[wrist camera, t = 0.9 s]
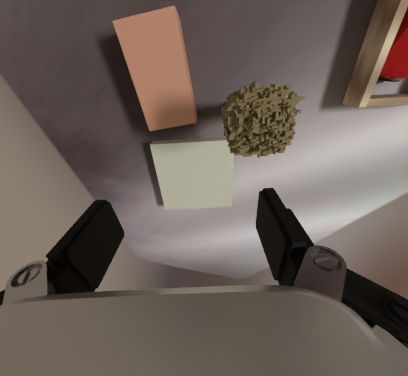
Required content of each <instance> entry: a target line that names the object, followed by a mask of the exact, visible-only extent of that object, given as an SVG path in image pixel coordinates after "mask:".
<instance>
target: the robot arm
mask: <svg viewBox="0 0 408 376" xmlns="http://www.w3.org/2000/svg"><path fill="white" fill-rule="evenodd" d="M256 229H257V232H258V235H259V237H260V240H261V243H262V246H263V249H264V252H265V255H266V258H267V260H268V263H269V266H270V269H271V272H272V275H273V277H274V280H278V282H279V286H278V285H248V286H217V287H216V286H215V287H191V288H167V289H147V290H146V289H145V290H124V291H103V292H94V291H95V289H96V288H98V286H99V285H100V283H101V281H102V279H103V277H104V275H105V273H106V271H107V269H108V267H109V265H110V263H111V261H112V259H113V257H114V255H115V253H116V251H117V249H118V247H119V245H120V243H121V241H122V239H123V237H124V231H123V228H122V226H121V224H120V222H119V220H118V218H117V216H116V214H115V212H114V210H113V208H112V206H111V204H110V202H108V201H107V200H96V201H94V202H93V203H92V204H91V206H90V207H89V208H88V209H87V210H86V211H85V212H84V213H83V214H82V216H81V217H80V218H79V219H78V220H77V221H76V222H75V224H74V225H73V226H72V227H71V228H70V229H69V230H68V231H67V232H66V234H65V235H64V236H63V237H62V238H61V239H60V240H59V241H58V243H57V244H56V245H55V246H54V247H53V248H52V249H51V251H50V252H49V253H48V254H47V255H46V257H47V258H48V259H49V260H48V261H47V262H44V261H35V262H32V263H29V264H27V265H26V266H24V267H22V268H21V269H19V270H18V271H17V272H16V273H14V274H13V275H12V276H11V277H10V279H9V280H8V282H7V284H6V288H5V290H3V291H1V292H0V376H408V300H407V299H405V298H404V297H402V296H400V295H398V294H396V293H394V292H392V291H390V290H388V289H386V288H384V287H382V286H380V285H378V284H376V283H374V282H372V281H370V280H368V279H367V278H365V277H362V276H361V275H359V274H357V273H355V272H353V271H351V270H349V269H347V266H346V263H345V261H344V259H343V258H342V257H341V256H340V255H339V254H338V253H336V252H335V251H334V250H332V249H330V248H327V247H324V246H318V245H317V246H314V244H313V242H312V241H311V239H310V238H309V236H308V235H307V233H306V232H305V230H304V229H303V227H302V226H301V224H300V223H299V221H298V220H297V218H296V217H295V215H294V214H293V212H292V211H291V210H290V209H286V207H285V206H284V204H283V203H282V201H281V199H280V198H279V196H278V195H277V193H276V191H275V190H274V189H273V188H264V189H263V190H262V191H260V192H259V199H258V208H257V218H256ZM403 370H404V371H403Z"/></svg>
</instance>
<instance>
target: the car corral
mask: <svg viewBox="0 0 408 376" xmlns="http://www.w3.org/2000/svg"><path fill="white" fill-rule="evenodd" d="M407 7H408V0H377V3H376V6H375V9H374V12H373V15H372V18H371V20H370V23H369V26H368V29H367V32H366V35H365V38H364V41H363V44H362V47H361V50H360V53H359V56H358V59H357V61H356V64H355V67H354V70H353V73H352V76H351V79H350V82H349V85H348V88H347V91H346V94H345V97H344V99H343V102H342V105H348V106H353V107H358V108H360V107H376V106H392V105H408V93H402V94H387V95H371V94H372V92H373V89H374V87H375V84H376V82H377V80H378V77H379V75H380V72H381V70H382V68H383V65H384V63H385V60H386V58H387V55H388V53H389V51H390V48H391V46H392V43H393V41H394V39H395V36H396V34H397V31H398V29H399V27H400V24H401V22H402V19H403V17H404V14H405V12H406V10H407Z"/></svg>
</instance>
